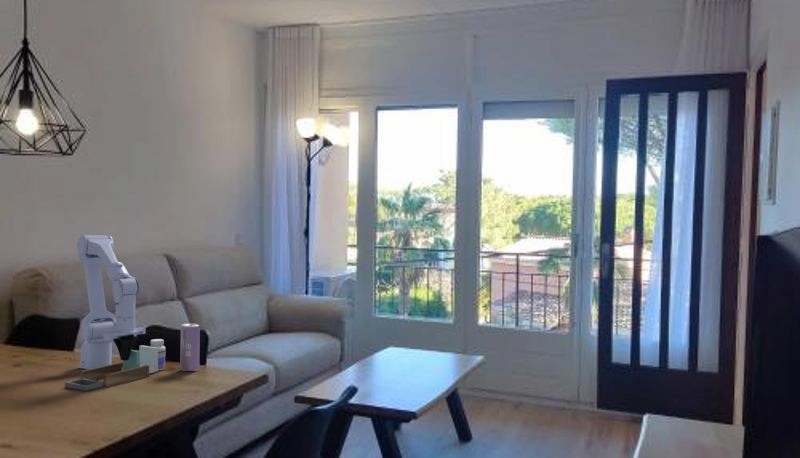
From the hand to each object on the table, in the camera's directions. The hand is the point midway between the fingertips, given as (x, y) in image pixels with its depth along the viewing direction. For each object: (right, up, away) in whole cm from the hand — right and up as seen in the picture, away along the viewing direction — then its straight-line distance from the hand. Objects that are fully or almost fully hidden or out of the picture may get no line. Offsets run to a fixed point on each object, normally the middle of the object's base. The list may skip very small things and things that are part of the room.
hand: (124, 360), depth 206 cm
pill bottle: (+6, -6, +12) cm, 14 cm away
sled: (+3, -5, +6) cm, 8 cm away
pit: (-7, -6, -13) cm, 15 cm away
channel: (-2, -5, -3) cm, 6 cm away
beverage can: (+17, -6, +11) cm, 21 cm away
